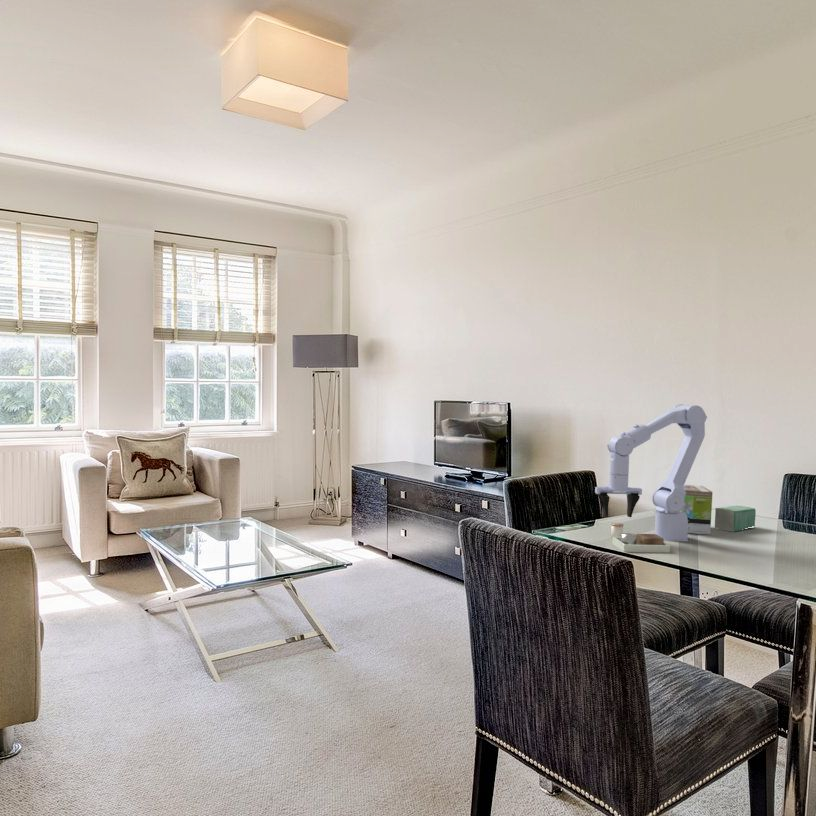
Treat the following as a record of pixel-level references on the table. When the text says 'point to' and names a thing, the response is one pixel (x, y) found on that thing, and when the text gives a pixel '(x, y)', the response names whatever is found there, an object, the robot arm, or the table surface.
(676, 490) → the robot arm
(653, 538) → the block
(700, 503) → the tea box
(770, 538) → the table surface
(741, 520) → the box
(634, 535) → the tin
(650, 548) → the white tray
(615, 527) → the jar
